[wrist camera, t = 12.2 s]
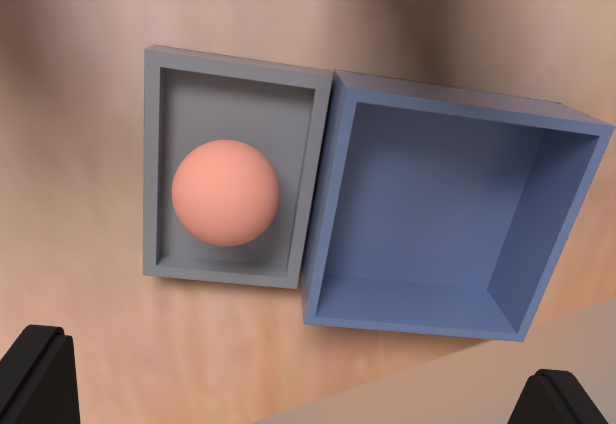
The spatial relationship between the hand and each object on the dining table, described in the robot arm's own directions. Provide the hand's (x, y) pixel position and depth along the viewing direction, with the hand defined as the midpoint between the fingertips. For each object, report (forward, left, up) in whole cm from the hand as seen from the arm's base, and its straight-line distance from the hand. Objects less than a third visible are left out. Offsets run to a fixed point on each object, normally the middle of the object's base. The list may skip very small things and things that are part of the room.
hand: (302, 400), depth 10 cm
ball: (+3, +3, -18) cm, 18 cm away
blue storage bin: (-10, +3, -21) cm, 24 cm away
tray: (+3, +3, -21) cm, 22 cm away
